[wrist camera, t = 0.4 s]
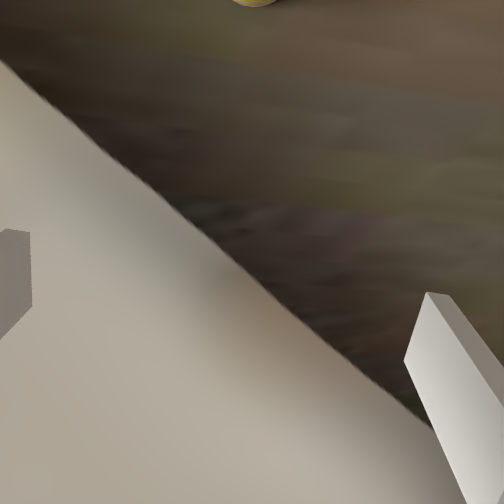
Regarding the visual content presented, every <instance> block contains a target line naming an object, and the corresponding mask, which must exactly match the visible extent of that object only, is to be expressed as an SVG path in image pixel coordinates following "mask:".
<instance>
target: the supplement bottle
mask: <svg viewBox="0 0 504 504" xmlns="http://www.w3.org/2000/svg"><path fill="white" fill-rule="evenodd" d="M233 1H235V2H237V3H239V4H242V5H245V6H250V7H259V6H265V5H268V4H270V3H272V2H274V1H276V0H233Z"/></svg>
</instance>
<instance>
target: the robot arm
mask: <svg viewBox="0 0 504 504" xmlns="http://www.w3.org/2000/svg"><path fill="white" fill-rule="evenodd" d="M31 307H32V288H31V259H30V232H25V231H18V230H11V229H5V230H3V231H2V232H0V339H1V338H2V337H3V336H4V335H5V334H6V333H7V332H8V331H9V330H10V329H11V328H12V327H13V326H14V325H15V324H16V323H17V322H18V321H19V319H20V318H21V317H22V316H23V315H24V314H25V313H26V312H27V311H28V310H29V309H30V308H31ZM404 362H405V364H406V367H407V369H408V371H409V373H410V376H411V378H412V380H413V382H414V385H415V387H416V389H417V391H418V394H419V396H420V398H421V401H422V403H423V405H424V407H425V410H426V412H427V414H428V416H429V419H430V421H431V423H432V425H433V428H434V430H435V432H436V434H437V437H438V439H439V441H440V443H441V446H442V448H443V450H444V453H445V455H446V457H447V459H448V462H449V464H450V466H451V468H452V471H453V473H454V475H455V477H456V480H457V482H458V484H459V486H460V489H461V491H462V493H463V496H464V498H465V500H466V502H467V504H504V368H503V366H502V365H501V364H500V362H499V361H498V360H497V358H496V357H495V356H494V354H493V353H492V352H491V350H490V349H489V348H488V346H487V345H486V344H485V343H484V341H483V340H482V339H481V337H480V336H479V335H478V333H477V332H476V331H475V329H474V328H473V327H472V325H471V324H470V323H469V321H468V320H467V319H466V317H465V316H464V315H463V313H462V312H461V311H460V309H459V308H458V307H457V305H456V304H455V303H454V301H453V300H452V299H451V297H450V296H449V295H444V294H438V293H431V292H426V294H425V297H424V300H423V303H422V306H421V310H420V313H419V316H418V319H417V322H416V325H415V328H414V331H413V334H412V337H411V340H410V343H409V346H408V349H407V353H406V356H405V359H404Z"/></svg>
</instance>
